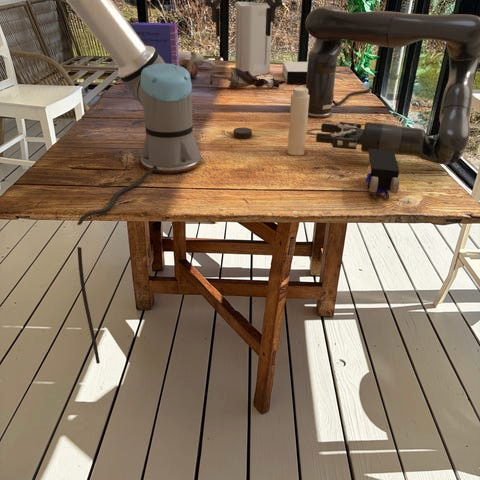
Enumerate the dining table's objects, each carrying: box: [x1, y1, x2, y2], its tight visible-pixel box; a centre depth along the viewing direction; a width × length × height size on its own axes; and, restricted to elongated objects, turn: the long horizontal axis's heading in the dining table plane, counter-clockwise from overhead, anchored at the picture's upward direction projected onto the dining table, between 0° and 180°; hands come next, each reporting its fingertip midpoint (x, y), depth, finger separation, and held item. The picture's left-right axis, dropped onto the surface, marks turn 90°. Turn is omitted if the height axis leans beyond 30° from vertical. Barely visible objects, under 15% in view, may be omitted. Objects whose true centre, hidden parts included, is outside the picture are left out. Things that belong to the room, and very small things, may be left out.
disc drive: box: [281, 61, 308, 85], centre depth 207 cm, size 18×22×5 cm
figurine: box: [209, 66, 287, 89], centre depth 190 cm, size 24×8×30 cm
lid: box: [233, 126, 253, 140], centre depth 142 cm, size 5×5×2 cm
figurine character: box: [365, 149, 400, 200], centre depth 109 cm, size 7×8×15 cm
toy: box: [178, 51, 217, 69], centre depth 222 cm, size 24×25×7 cm
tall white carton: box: [234, 1, 273, 77], centre depth 210 cm, size 19×15×28 cm
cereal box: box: [128, 21, 180, 66], centre depth 181 cm, size 17×5×24 cm, turn 86°
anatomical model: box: [179, 51, 199, 79], centre depth 200 cm, size 13×9×15 cm
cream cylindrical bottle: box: [286, 86, 310, 157], centre depth 127 cm, size 5×5×17 cm
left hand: (243, 35), depth 128 cm, fingers open, 13 cm apart
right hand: (318, 132), depth 126 cm, fingers open, 8 cm apart
